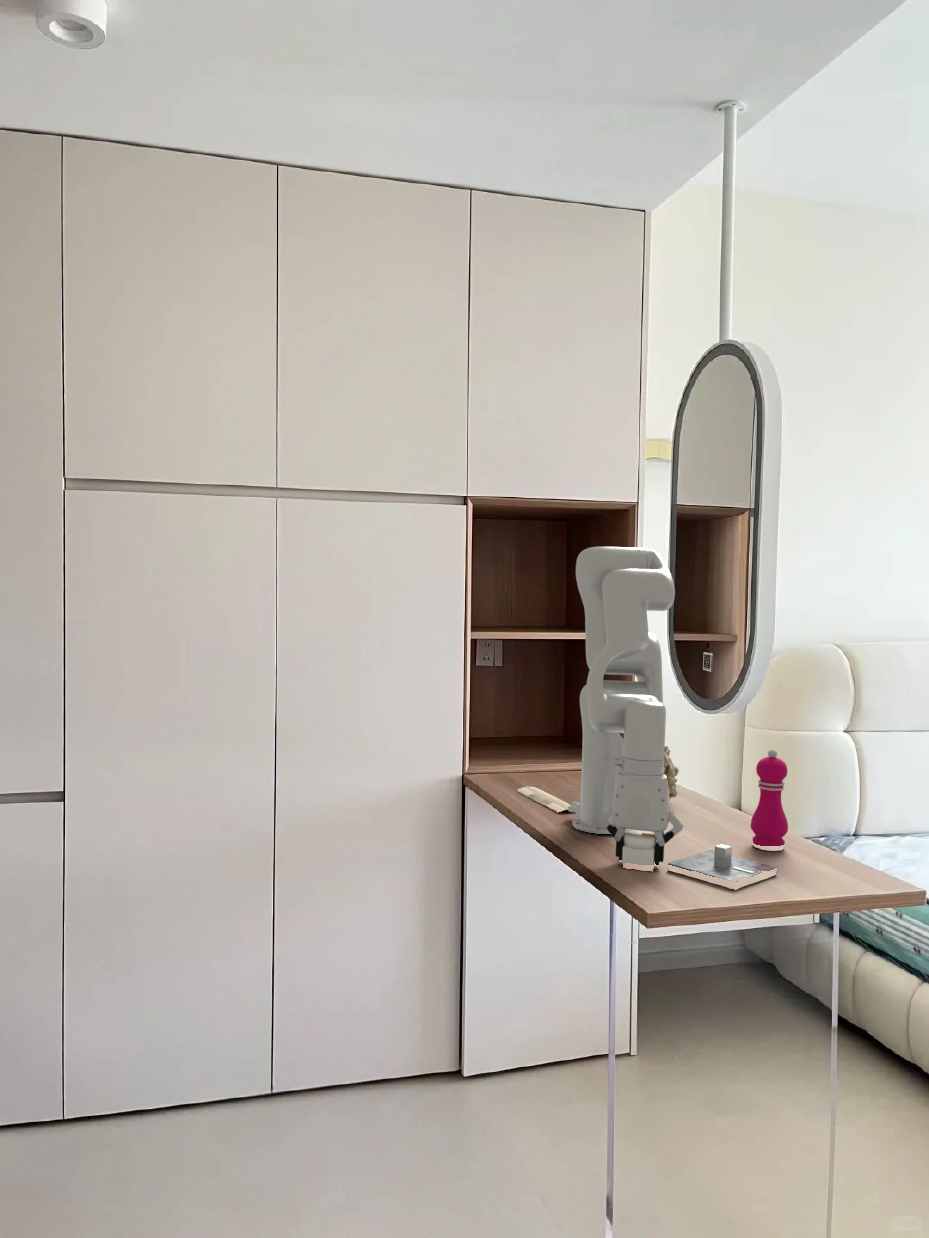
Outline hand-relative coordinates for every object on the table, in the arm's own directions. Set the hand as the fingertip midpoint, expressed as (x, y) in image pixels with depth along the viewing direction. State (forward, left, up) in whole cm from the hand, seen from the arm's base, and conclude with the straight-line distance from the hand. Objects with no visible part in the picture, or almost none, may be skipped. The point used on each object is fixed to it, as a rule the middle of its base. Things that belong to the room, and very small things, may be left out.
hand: (639, 862), depth 182 cm
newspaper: (-46, +25, -2) cm, 52 cm away
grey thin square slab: (+12, +9, -1) cm, 15 cm away
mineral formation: (-27, +44, -1) cm, 52 cm away
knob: (0, 0, -1) cm, 1 cm away
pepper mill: (+8, +32, -1) cm, 33 cm away
